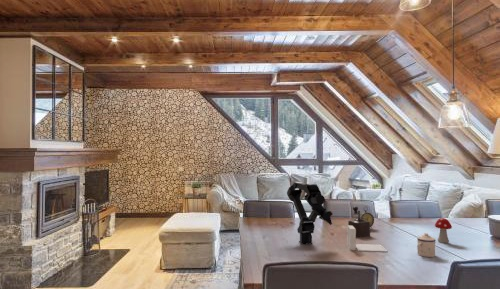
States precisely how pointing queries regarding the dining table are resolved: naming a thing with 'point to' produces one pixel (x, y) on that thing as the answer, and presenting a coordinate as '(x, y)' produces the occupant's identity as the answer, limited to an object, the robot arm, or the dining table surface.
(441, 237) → the decorative mushroom
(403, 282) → the dining table surface
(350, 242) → the beige rectangular block
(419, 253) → the teacup with lid
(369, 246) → the mat
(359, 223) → the dark brown boxy piece
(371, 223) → the alarm clock
